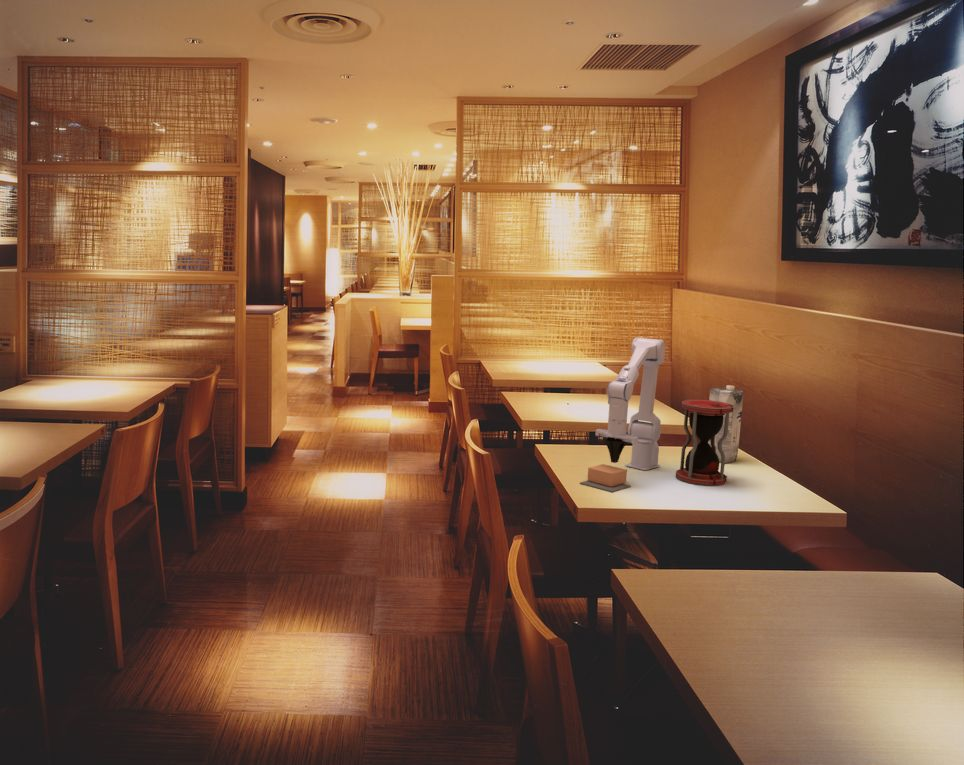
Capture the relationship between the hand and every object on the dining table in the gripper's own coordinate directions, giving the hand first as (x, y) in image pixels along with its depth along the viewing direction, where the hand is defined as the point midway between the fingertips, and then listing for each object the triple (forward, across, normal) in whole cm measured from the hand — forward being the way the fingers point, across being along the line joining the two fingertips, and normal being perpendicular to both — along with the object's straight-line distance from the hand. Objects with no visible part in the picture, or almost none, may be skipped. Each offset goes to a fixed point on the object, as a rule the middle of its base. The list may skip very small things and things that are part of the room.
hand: (614, 462), depth 265 cm
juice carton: (+7, +7, +57) cm, 58 cm away
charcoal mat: (+6, +1, -6) cm, 9 cm away
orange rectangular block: (+4, 0, 0) cm, 4 cm away
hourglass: (+7, +16, +26) cm, 32 cm away
